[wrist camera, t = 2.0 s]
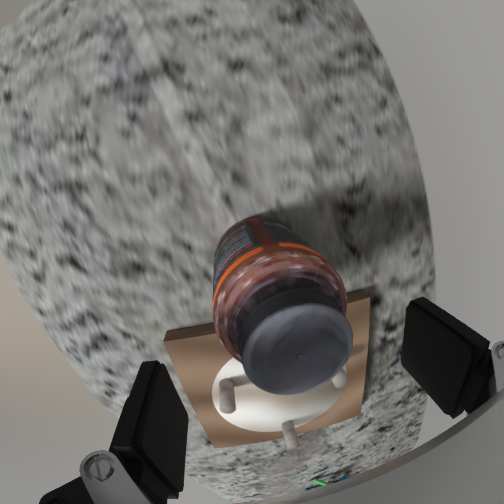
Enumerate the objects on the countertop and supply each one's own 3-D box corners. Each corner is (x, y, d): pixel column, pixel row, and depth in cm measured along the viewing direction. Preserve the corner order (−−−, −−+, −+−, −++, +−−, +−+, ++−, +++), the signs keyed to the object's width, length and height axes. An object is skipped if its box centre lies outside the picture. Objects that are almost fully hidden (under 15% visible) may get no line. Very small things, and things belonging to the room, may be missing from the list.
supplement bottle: (205, 286, 20) (193, 403, 9) (227, 205, 18) (234, 251, 7) (283, 303, 21) (335, 415, 10) (308, 228, 19) (403, 293, 8)
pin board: (166, 330, 20) (156, 366, 16) (361, 289, 21) (389, 314, 17) (214, 438, 24) (215, 470, 20) (355, 405, 25) (370, 433, 21)
